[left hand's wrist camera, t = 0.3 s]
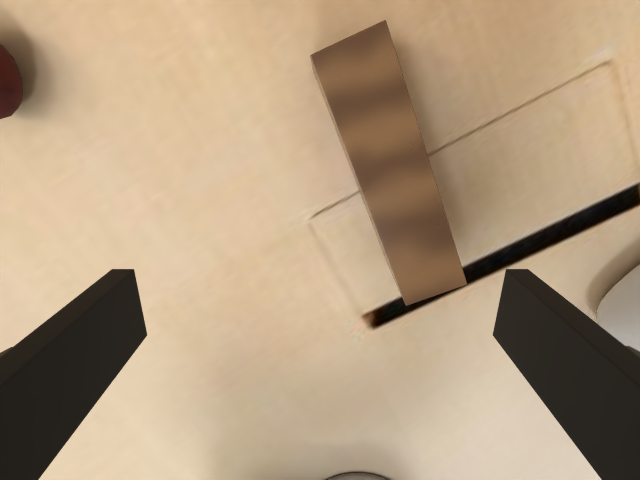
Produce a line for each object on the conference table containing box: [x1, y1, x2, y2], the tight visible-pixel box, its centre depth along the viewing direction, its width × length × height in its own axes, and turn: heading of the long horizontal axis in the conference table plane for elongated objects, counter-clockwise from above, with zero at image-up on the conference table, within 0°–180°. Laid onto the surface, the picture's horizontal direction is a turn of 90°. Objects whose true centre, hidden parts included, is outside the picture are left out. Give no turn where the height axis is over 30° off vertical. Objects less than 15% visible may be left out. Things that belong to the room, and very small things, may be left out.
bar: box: [310, 20, 467, 305], centre depth 32 cm, size 22×6×9 cm, turn 23°
